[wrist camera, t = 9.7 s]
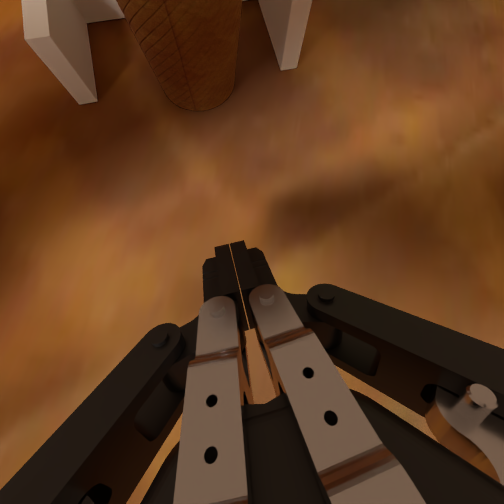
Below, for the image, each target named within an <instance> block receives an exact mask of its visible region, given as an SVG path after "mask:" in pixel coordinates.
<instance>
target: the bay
mask: <svg viewBox="0 0 504 504" xmlns="http://www.w3.org/2000/svg"><path fill="white" fill-rule="evenodd" d="M242 1H247V0H242ZM258 1H259V5H260V8H261V11H262V14H263V17H264V20H265V23H266V26H267V30H268V33H269V36H270V39H271V42H272V45H273V48H274V51H275V55H276V58H277V61H278V64H279V67H280V70H281V71H282V70H288V69H294V68H297V64H298V60H299V56H300V52H301V47H302V43H303V39H304V34H305V30H306V26H307V21H308V17H309V13H310V9H311V4H312V0H258ZM22 12H23V24H24V37H25V41H26V42H27V43H28V44H29V45H30V47H31V48H32V49H33V50H34V51H35V53H36V54H37V55H38V56H39V57H40V59H41V60H42V61H43V62H44V63H45V64H46V66H47V67H48V68H49V69H50V70H51V72H52V73H53V74H54V75H55V76H56V78H57V79H58V80H59V81H60V82H61V83H62V85H63V86H64V87H65V88H66V89H67V91H68V92H69V93H70V94H71V95H72V97H73V98H74V99H75V100H76V101H77V102H78V104H79V105H80V104H86V103H92V102H98V100H97V93H96V85H95V78H94V71H93V64H92V57H91V50H90V43H89V36H88V29H87V23H91V22H98V21H105V20H112V19H119V18H125V17H124V14H123V13H122V11H121V9H120V7H119V6H118V3H117V1H116V0H22Z"/></svg>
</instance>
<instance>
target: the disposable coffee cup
mask: <svg viewBox="0 0 504 504" xmlns="http://www.w3.org/2000/svg"><path fill="white" fill-rule="evenodd" d="M116 1H117V3H118V6H119V7H120V9H121V11H122V13H123V14H124V17H125V19H126V20H127V22H128V24H129V26H130V28H131V30H132V32H133V33H134V35H135V38H136V39H137V41H138V43H139V45H140V46H141V49H142V50H143V52H144V54H145V56H146V58H147V60H148V61H149V64H150V65H151V67H152V69H153V70H154V73H155V75H156V77H157V79H158V81H159V82H160V84H161V86H162V88H163V90H164V92H165V94H166V95H167V97H168V98H169V99H170V100H171V101H172V102H173V103H175V104H176V105H178V106H180V107H182V108H184V109H188V110H193V111H203V110H209V109H212V108H215V107H217V106H219V105H221V104H222V103H223V102H224V101H226V100H227V98H228V97H229V96H230V95H231V93H232V91H233V87H234V83H235V71H236V62H237V51H238V41H239V31H240V20H241V9H242V0H116Z"/></svg>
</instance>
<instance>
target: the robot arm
mask: <svg viewBox="0 0 504 504" xmlns="http://www.w3.org/2000/svg"><path fill="white" fill-rule="evenodd" d="M230 246H231V251H232V255H233V259H234V263H235V267H236V272H237V276H238V280H239V284H240V288H241V292H242V297H243V301H244V305H245V309H246V313H247V317H248V322H249V326H250V329H253V328H255V331H256V335H257V339H258V343H259V347H260V349H261V352H262V355H263V358H264V361H265V364H266V367H267V369H268V372H269V375H270V378H271V381H272V384H273V387H274V390H275V393H276V398H274V399H273V400H271V401H270V402H268V403H266V404H254V400H253V395H252V388H251V380H250V371H249V363H248V355H247V347H246V337H245V332H244V331H246V330H249V328H248V324H247V320H246V315H245V311H244V307H243V302H242V298H241V294H240V289H239V285H238V281H237V276H236V272H235V268H234V264H233V260H232V256H231V252H230V248H229V244H226V245H222V246H217V247H215V255H216V257H214V258H210V259H206V261H205V263H204V265H203V266H202V267H203V292H204V304H203V305H202V306H201V308H200V311H199V315H198V316H197V317H196V318H195V319H194V320H192V321H191V322H189V323H187V324H185V325H184V326H182V327H180V328H179V327H178V326H177V325H175V324H172V323H165V324H161V325H158V326H156V327H155V328H153V329H152V330H150V331H149V332H148V333H147V334H146V335H145V336H144V337H143V338H142V339H141V340H140V342H139V343H138V344H137V345H136V346H135V347H134V348H133V349H132V350H131V351H130V352H129V353H128V354H127V355H126V356H125V358H124V359H123V360H122V361H121V362H120V363H119V364H118V365H117V366H116V367H115V368H114V369H113V370H112V371H111V373H110V374H109V375H108V376H107V377H106V378H105V379H104V380H103V381H102V382H101V383H100V384H99V385H98V386H97V387H96V389H95V390H94V391H93V392H92V393H91V394H90V395H89V396H88V397H87V398H86V399H85V400H84V401H83V402H82V404H81V405H80V406H79V407H78V408H77V409H76V410H75V411H74V412H73V413H72V414H71V415H70V416H69V417H68V418H67V420H66V421H65V422H64V423H63V424H62V425H61V426H60V427H59V428H58V429H57V430H56V431H55V432H54V433H53V434H52V436H51V437H50V438H49V439H48V440H47V441H46V442H45V443H44V444H43V445H42V446H41V447H40V448H39V449H38V451H37V452H36V453H35V454H34V455H33V456H32V457H31V458H30V459H29V460H28V461H27V462H26V463H25V464H24V465H23V467H22V468H21V469H20V470H19V471H18V472H17V473H16V474H15V475H14V476H13V477H12V478H11V479H10V480H9V481H8V483H7V484H6V485H5V486H4V487H3V488H2V489H1V490H0V504H126V502H127V501H128V499H129V498H130V496H131V494H132V493H133V491H134V490H135V488H136V486H137V485H138V483H139V482H140V480H141V478H142V477H143V475H144V474H145V472H146V470H147V469H148V467H149V466H150V464H151V462H152V461H153V459H154V457H155V456H156V454H157V453H158V451H159V449H160V448H161V446H162V445H163V443H164V441H165V440H166V438H167V437H168V435H169V433H170V432H171V430H172V429H173V427H174V425H175V424H176V422H177V421H178V419H179V417H180V416H181V414H182V413H183V417H182V426H181V435H180V441H179V442H178V443H177V444H176V445H175V447H174V448H173V449H172V450H171V452H170V453H169V455H168V456H167V458H166V459H165V461H164V462H163V464H162V466H161V468H160V469H159V471H158V473H157V475H156V477H155V478H154V480H153V482H152V484H151V486H150V487H149V489H148V491H147V493H146V495H145V496H144V498H143V500H142V502H141V503H140V504H504V349H502V348H499V347H497V346H494V345H491V344H489V343H486V342H483V341H481V340H478V339H475V338H473V337H470V336H467V335H465V334H462V333H459V332H457V331H454V330H451V329H449V328H446V327H443V326H441V325H438V324H435V323H433V322H430V321H427V320H425V319H422V318H419V317H417V316H414V315H411V314H409V313H406V312H403V311H401V310H398V309H395V308H393V307H390V306H388V305H385V304H382V303H380V302H377V301H374V300H372V299H369V298H366V297H364V296H361V295H358V294H356V293H353V292H350V291H348V290H345V289H342V288H340V287H337V286H334V285H331V284H318V285H315V286H313V287H312V288H310V289H309V291H308V293H307V294H290V293H287V292H284V291H283V290H282V289H281V288H280V287H278V285H277V284H276V281H275V279H274V277H273V275H272V272H271V270H270V268H269V265H268V263H267V261H266V259H265V256H264V254H263V252H262V251H261V250H259V249H258V248H256V247H255V248H251V249H247V248H246V245H245V243H244V240H243V241H239V242H234V243H230ZM334 365H336V366H337V367H339V368H341V369H343V370H344V371H346V372H348V373H349V374H351V375H353V376H355V377H356V378H358V379H360V380H361V381H363V382H365V383H366V384H368V385H370V386H372V387H373V388H375V389H377V390H378V391H380V392H382V393H384V394H385V395H387V396H389V397H390V398H392V399H394V400H396V401H397V402H399V403H401V404H402V405H404V406H406V407H407V408H409V409H411V410H413V411H414V412H416V413H418V414H419V415H421V416H423V417H425V418H426V422H427V424H428V427H429V429H430V430H431V432H432V433H433V435H434V436H435V437H436V439H437V440H438V442H439V443H438V442H437V441H435V440H433V439H432V438H430V437H429V436H427V435H426V434H424V433H423V432H421V431H420V430H418V429H417V428H415V427H414V426H412V425H411V424H409V423H407V422H406V421H404V420H403V419H401V418H400V417H398V416H397V415H395V414H394V413H392V412H391V411H389V410H388V409H386V408H385V407H383V406H382V405H380V404H378V403H377V402H375V401H374V400H372V399H371V398H369V397H367V396H365V395H363V394H361V393H359V392H357V391H354V390H352V389H349V388H348V387H347V385H346V383H345V382H344V380H343V379H342V377H341V375H340V374H339V372H338V370H337V369H336V367H335V366H334ZM447 448H448V449H447Z"/></svg>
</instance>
